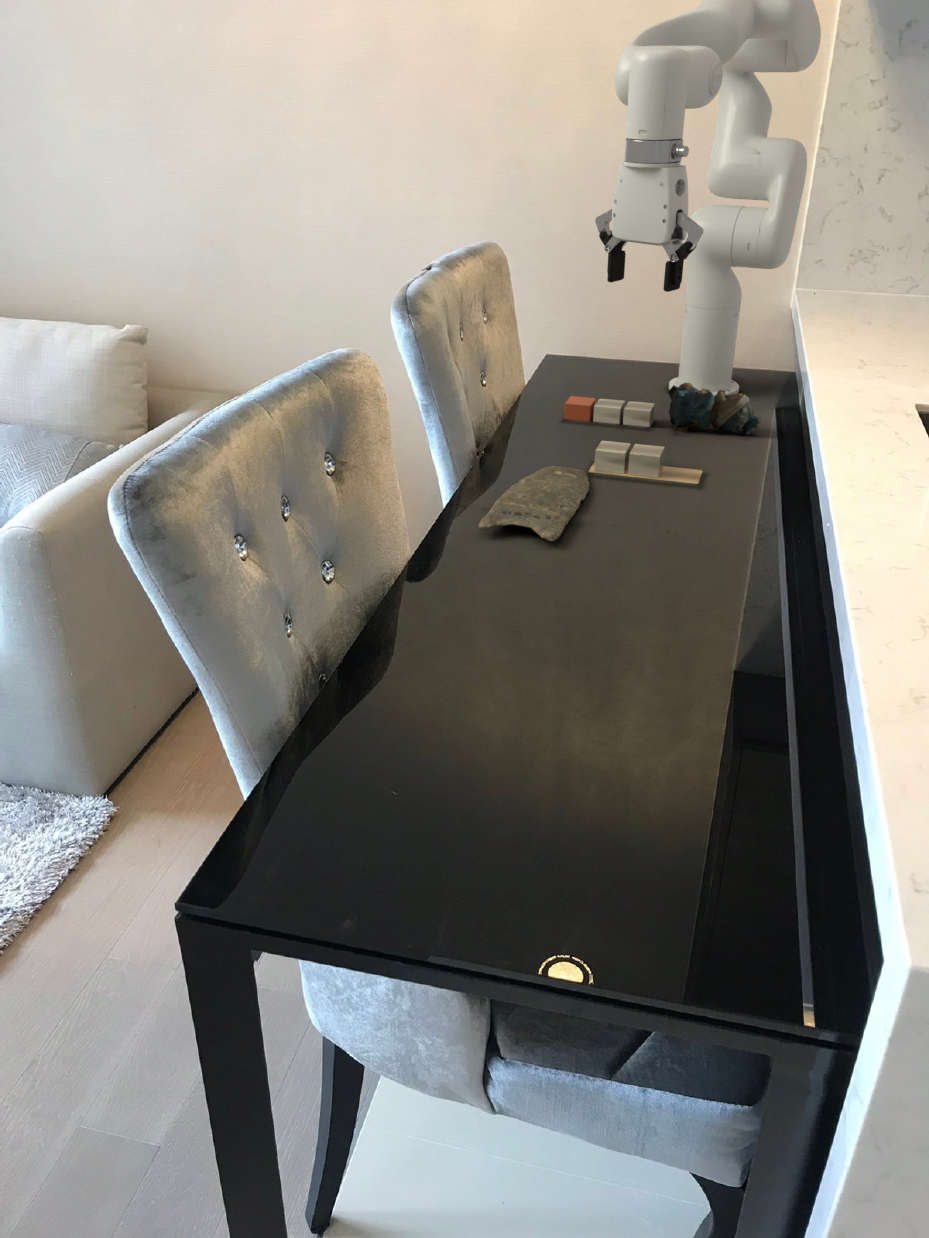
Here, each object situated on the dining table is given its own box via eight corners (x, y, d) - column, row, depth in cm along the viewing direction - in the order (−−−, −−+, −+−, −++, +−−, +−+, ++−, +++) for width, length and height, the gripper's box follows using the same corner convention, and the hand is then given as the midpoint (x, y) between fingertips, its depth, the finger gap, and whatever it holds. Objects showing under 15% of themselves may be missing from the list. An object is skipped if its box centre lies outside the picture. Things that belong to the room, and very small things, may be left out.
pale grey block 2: (627, 419, 169) (628, 401, 168) (653, 421, 168) (655, 403, 167) (622, 427, 166) (623, 408, 164) (649, 430, 165) (650, 411, 163)
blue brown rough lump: (675, 383, 167) (767, 382, 161) (672, 433, 169) (763, 434, 163) (661, 382, 160) (756, 382, 153) (658, 434, 162) (753, 436, 155)
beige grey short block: (598, 416, 171) (599, 398, 169) (624, 419, 170) (625, 400, 168) (593, 424, 167) (594, 406, 166) (619, 427, 166) (620, 408, 164)
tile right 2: (633, 464, 149) (634, 443, 148) (662, 467, 148) (664, 446, 147) (627, 474, 146) (629, 453, 144) (658, 477, 145) (660, 456, 143)
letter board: (595, 462, 152) (596, 458, 152) (702, 474, 147) (703, 470, 147) (587, 475, 147) (588, 471, 147) (697, 487, 143) (698, 483, 142)
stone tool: (558, 550, 125) (601, 480, 146) (558, 529, 124) (602, 461, 144) (475, 539, 128) (529, 472, 149) (475, 518, 127) (529, 454, 147)
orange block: (569, 414, 172) (570, 395, 171) (595, 416, 171) (596, 398, 169) (563, 421, 169) (564, 403, 167) (589, 424, 167) (590, 405, 166)
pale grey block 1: (600, 460, 151) (601, 440, 149) (629, 463, 150) (630, 443, 148) (594, 470, 147) (595, 450, 146) (623, 474, 146) (625, 453, 144)
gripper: (724, 155, 131) (709, 289, 140) (617, 148, 142) (610, 274, 150) (692, 159, 126) (679, 298, 135) (584, 152, 137) (578, 281, 145)
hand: (643, 285), depth 143 cm, fingers open, 9 cm apart
